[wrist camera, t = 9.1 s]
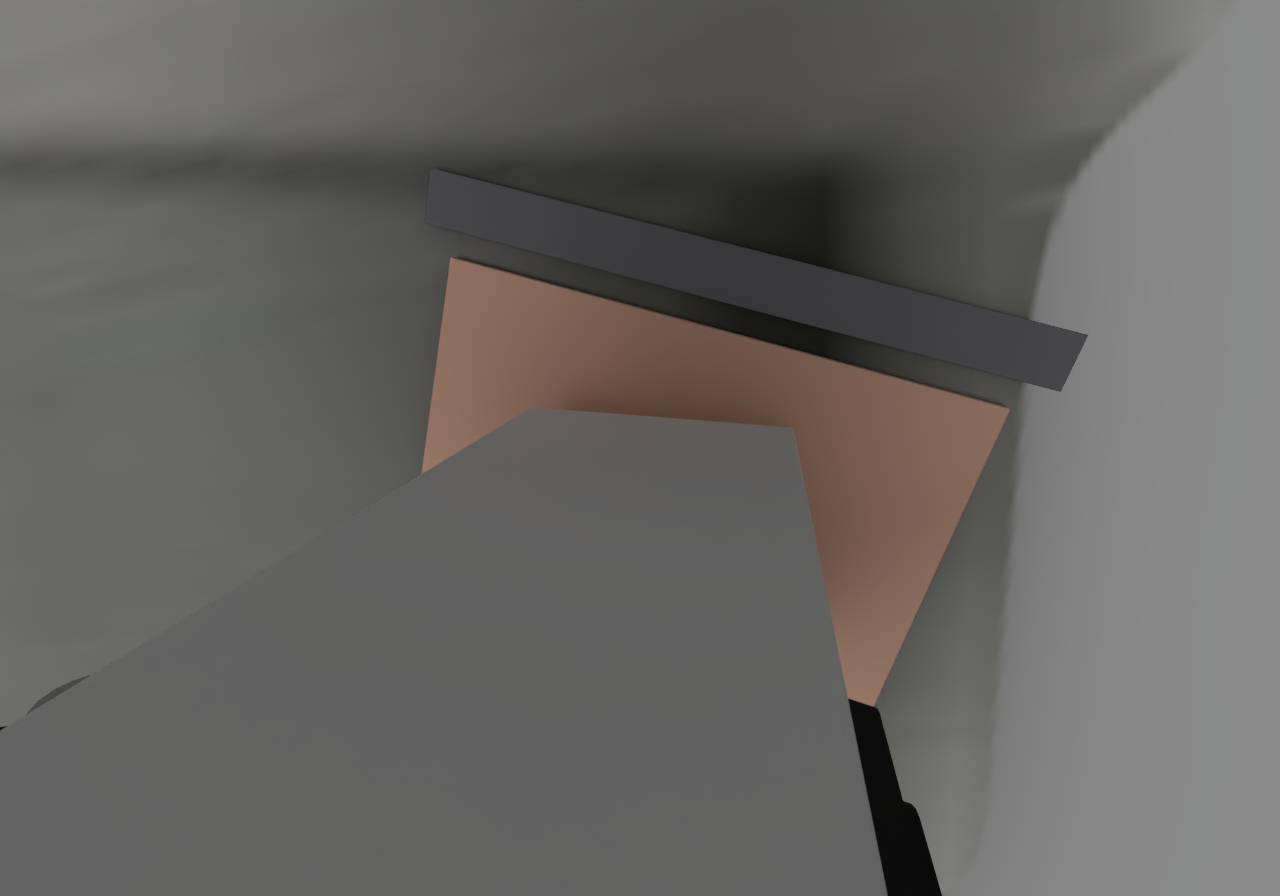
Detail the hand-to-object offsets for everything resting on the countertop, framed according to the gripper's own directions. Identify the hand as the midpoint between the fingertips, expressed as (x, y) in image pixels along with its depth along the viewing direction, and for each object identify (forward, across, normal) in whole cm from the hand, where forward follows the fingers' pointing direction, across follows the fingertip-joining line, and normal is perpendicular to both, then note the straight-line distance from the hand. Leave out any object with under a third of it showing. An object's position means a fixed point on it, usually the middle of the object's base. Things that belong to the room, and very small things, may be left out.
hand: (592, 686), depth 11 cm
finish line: (+8, 0, -7) cm, 11 cm away
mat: (+8, 0, 0) cm, 8 cm away
